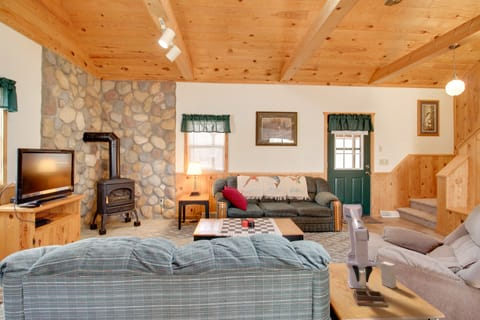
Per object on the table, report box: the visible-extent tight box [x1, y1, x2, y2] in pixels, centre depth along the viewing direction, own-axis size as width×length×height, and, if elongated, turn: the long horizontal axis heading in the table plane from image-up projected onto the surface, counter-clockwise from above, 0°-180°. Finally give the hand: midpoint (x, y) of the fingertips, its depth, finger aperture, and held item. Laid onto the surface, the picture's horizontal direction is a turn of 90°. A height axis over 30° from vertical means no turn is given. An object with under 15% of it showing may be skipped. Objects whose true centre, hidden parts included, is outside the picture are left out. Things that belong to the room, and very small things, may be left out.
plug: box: [358, 270, 367, 287], centre depth 138 cm, size 4×4×6 cm
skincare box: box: [380, 261, 397, 289], centre depth 153 cm, size 6×4×12 cm
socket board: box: [352, 289, 388, 307], centre depth 136 cm, size 9×13×3 cm
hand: (362, 281), depth 138 cm, fingers closed on plug, 4 cm apart
